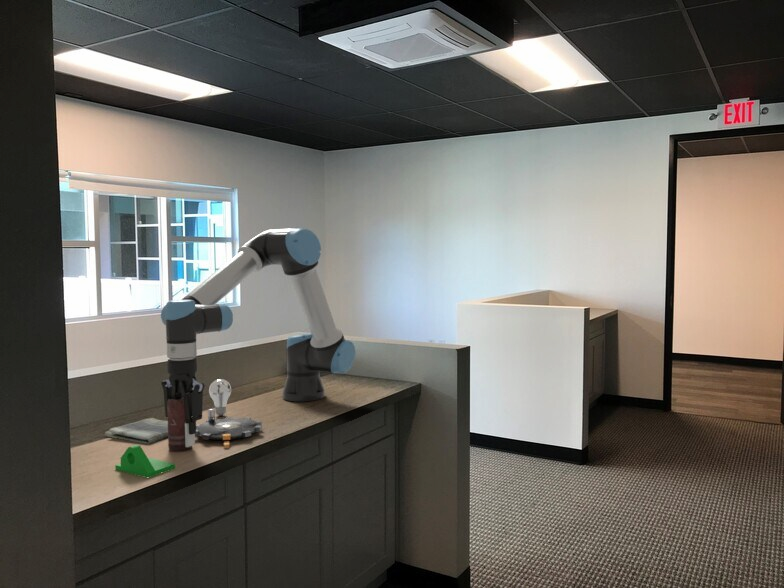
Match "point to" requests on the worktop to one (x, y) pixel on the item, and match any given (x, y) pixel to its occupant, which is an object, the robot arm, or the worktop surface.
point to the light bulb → (220, 395)
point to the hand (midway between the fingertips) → (184, 444)
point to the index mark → (226, 444)
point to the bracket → (141, 463)
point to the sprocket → (227, 427)
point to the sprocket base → (230, 439)
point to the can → (176, 425)
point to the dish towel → (141, 431)
